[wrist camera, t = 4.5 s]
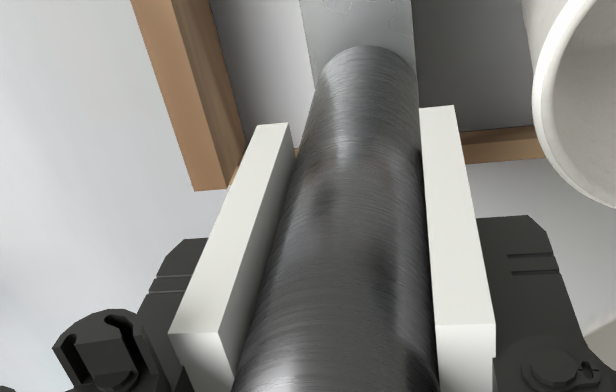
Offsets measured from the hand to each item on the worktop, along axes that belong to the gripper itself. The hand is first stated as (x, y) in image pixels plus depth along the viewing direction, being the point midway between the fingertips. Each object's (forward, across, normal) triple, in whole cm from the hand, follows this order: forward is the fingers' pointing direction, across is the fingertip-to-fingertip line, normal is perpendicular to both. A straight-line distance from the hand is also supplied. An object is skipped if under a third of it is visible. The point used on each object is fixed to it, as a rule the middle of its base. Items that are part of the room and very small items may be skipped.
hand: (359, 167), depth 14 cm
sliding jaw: (+13, 0, 0) cm, 13 cm away
